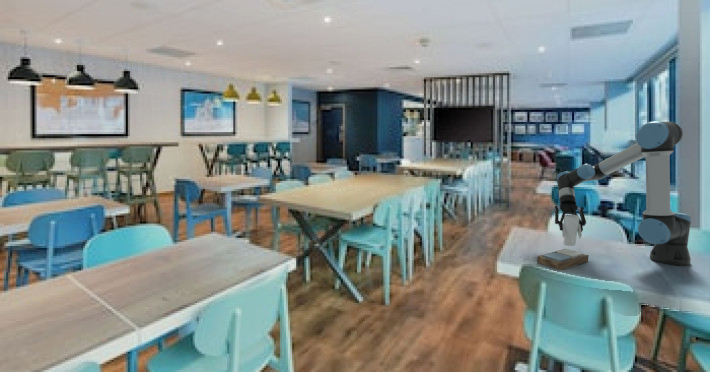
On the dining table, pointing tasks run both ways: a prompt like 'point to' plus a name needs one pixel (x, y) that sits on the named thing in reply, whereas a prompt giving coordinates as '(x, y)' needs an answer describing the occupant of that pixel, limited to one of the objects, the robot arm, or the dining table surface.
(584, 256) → the keyguard frame
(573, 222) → the drinking glass
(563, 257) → the slate key
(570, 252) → the cream key
